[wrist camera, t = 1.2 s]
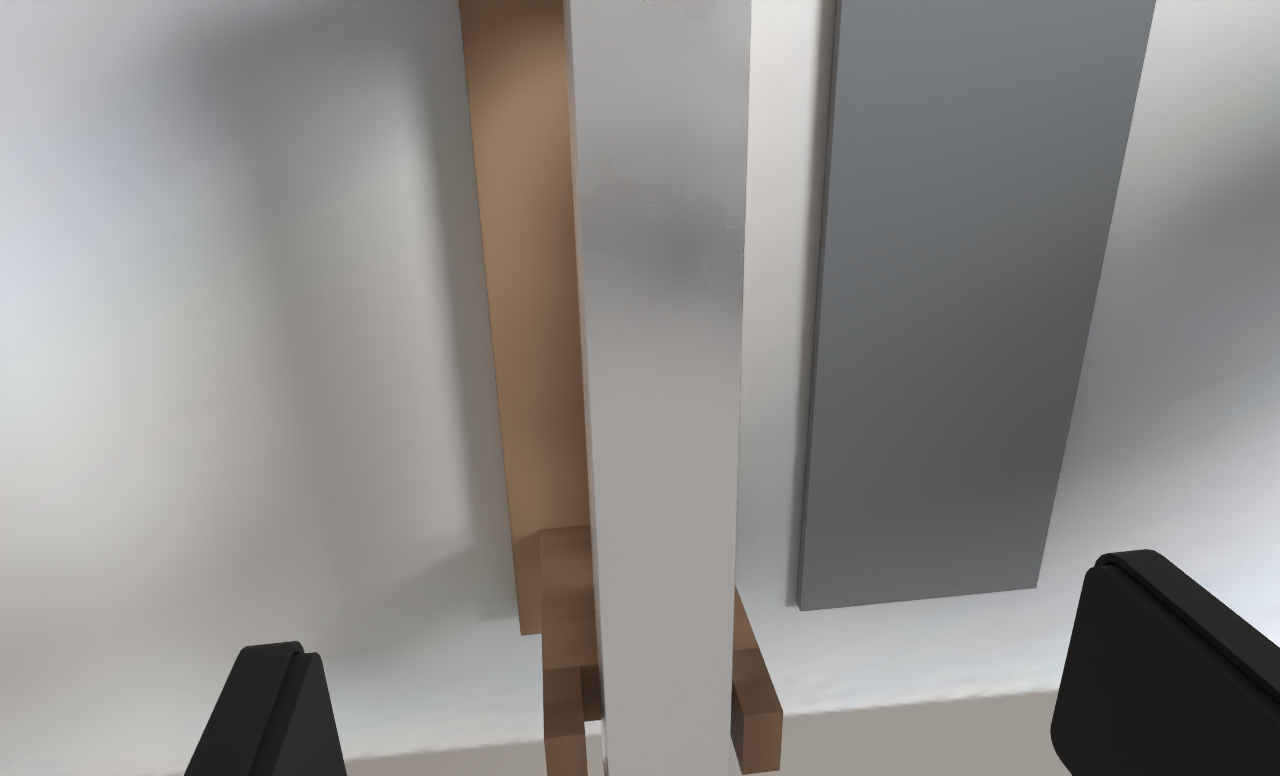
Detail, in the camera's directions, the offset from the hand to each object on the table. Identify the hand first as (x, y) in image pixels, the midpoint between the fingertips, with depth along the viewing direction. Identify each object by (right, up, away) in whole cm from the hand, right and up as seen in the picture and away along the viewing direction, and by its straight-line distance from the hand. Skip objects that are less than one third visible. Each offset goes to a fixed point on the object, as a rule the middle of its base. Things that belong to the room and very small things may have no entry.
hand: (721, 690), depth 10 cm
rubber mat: (+10, +8, +18) cm, 22 cm away
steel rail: (-1, +4, +9) cm, 10 cm away
